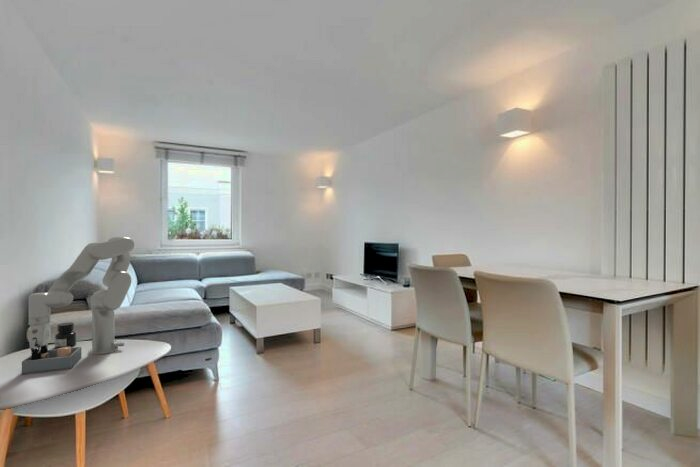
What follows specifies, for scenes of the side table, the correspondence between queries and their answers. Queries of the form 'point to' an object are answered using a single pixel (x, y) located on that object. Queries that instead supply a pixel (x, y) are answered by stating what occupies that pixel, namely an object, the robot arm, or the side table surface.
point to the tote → (51, 362)
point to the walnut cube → (43, 356)
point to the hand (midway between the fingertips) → (39, 359)
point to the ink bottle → (65, 335)
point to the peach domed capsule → (63, 351)
